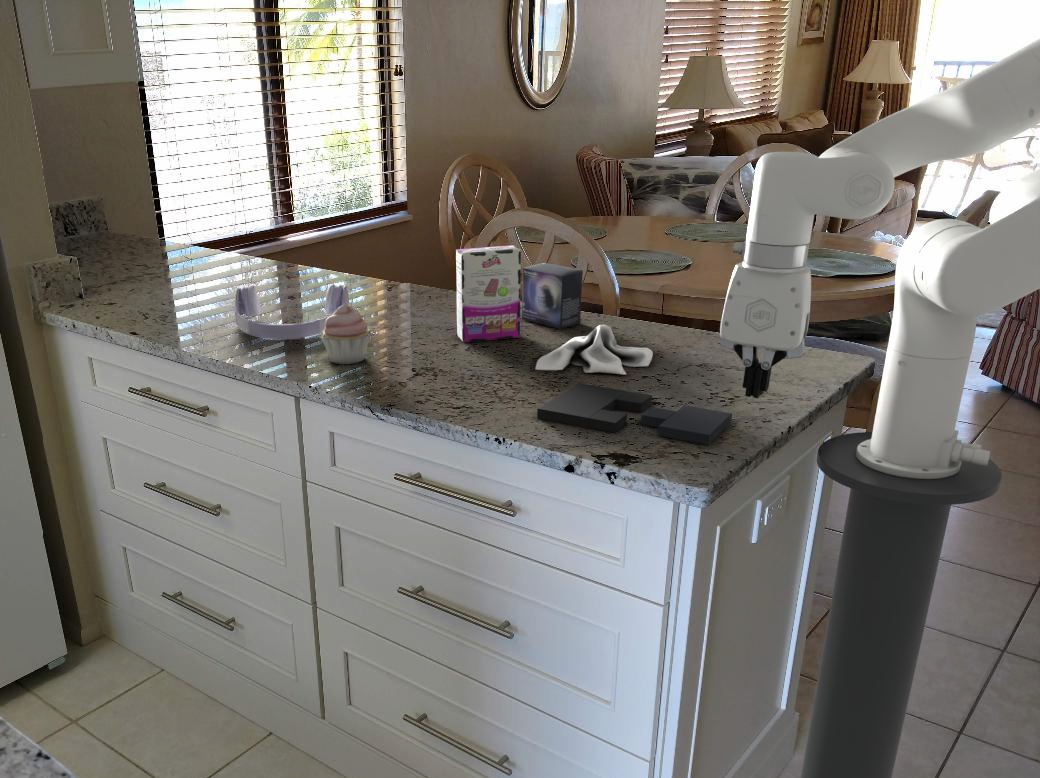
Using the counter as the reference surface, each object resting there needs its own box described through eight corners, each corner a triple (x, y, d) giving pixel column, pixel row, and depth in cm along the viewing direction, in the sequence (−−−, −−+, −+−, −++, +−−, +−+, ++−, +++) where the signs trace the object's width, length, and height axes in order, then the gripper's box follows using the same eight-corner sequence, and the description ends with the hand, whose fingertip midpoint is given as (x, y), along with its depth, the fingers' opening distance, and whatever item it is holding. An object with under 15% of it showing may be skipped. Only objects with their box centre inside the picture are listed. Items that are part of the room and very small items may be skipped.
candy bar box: (512, 331, 188) (514, 244, 182) (520, 338, 184) (522, 249, 177) (455, 336, 186) (455, 248, 180) (461, 343, 182) (462, 252, 175)
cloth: (589, 337, 183) (591, 304, 181) (676, 357, 170) (679, 321, 168) (509, 363, 170) (509, 327, 167) (597, 386, 157) (599, 348, 154)
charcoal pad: (731, 423, 140) (732, 413, 140) (708, 445, 133) (709, 434, 132) (658, 410, 146) (659, 400, 145) (632, 431, 138) (633, 420, 138)
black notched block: (651, 404, 148) (652, 395, 148) (614, 433, 138) (615, 422, 137) (577, 391, 155) (578, 382, 154) (536, 418, 144) (537, 408, 143)
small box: (518, 319, 196) (520, 266, 192) (541, 314, 200) (543, 262, 196) (559, 329, 189) (561, 274, 185) (581, 323, 193) (584, 269, 188)
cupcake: (335, 370, 168) (332, 312, 164) (311, 358, 175) (308, 302, 171) (383, 361, 172) (381, 304, 168) (358, 349, 179) (355, 294, 175)
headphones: (243, 313, 206) (224, 345, 188) (239, 279, 202) (220, 309, 185) (350, 312, 205) (341, 344, 187) (348, 278, 201) (339, 308, 184)
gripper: (706, 254, 125) (689, 392, 133) (831, 267, 118) (805, 413, 125) (725, 245, 131) (708, 378, 138) (844, 257, 123) (819, 397, 131)
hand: (754, 394), depth 132 cm, fingers closed
